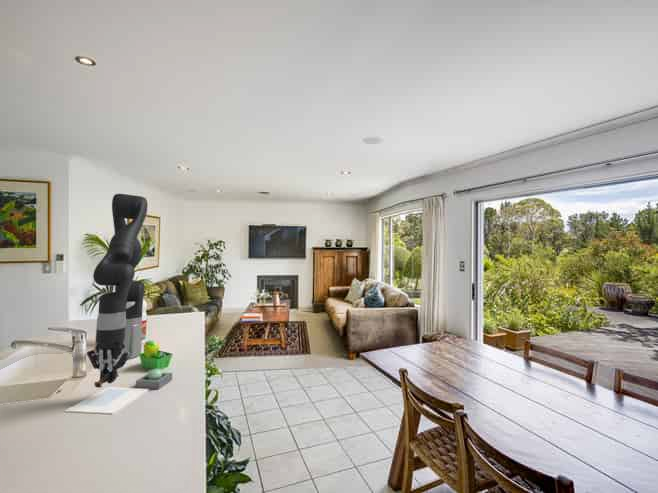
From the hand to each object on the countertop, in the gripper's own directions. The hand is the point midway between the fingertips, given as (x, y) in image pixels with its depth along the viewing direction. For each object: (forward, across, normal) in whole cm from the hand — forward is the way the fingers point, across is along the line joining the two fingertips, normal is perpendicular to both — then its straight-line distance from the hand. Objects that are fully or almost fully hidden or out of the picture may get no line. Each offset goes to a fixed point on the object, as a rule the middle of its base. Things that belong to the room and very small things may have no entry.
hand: (107, 382), depth 93 cm
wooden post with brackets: (0, 0, 0) cm, 1 cm away
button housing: (+5, -8, -12) cm, 15 cm away
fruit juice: (+5, +31, -56) cm, 64 cm away
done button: (+3, -8, -11) cm, 14 cm away
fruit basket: (+5, +2, -27) cm, 28 cm away
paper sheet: (+5, -2, +1) cm, 5 cm away
